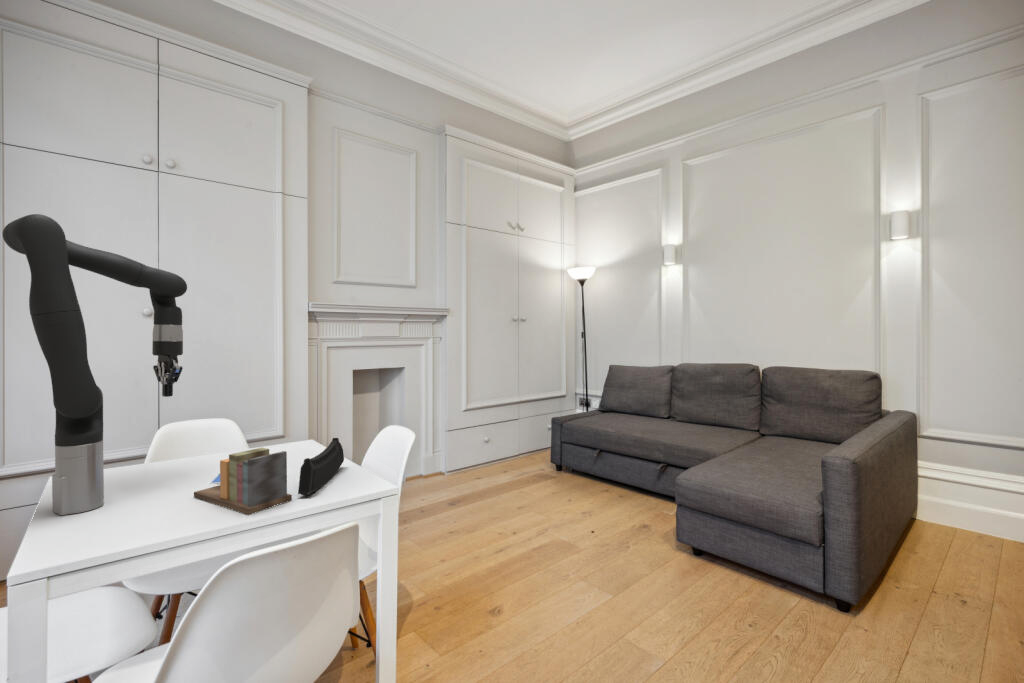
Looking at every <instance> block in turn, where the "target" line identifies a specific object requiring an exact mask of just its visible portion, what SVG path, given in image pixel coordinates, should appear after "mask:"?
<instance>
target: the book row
mask: <svg viewBox="0 0 1024 683" xmlns="http://www.w3.org/2000/svg"><path fill="white" fill-rule="evenodd" d="M287 454H288V453H287V451H285V450H284V451H278V452H274V453H270V449H269V448H266V447H265V448H264V447H258V448H253V449H249V450H246V451H245V450H243V451H240V452H237V453H236V452H234V453H230V454H228V459H229V499H227V500H226V499H223V498H220V484H218V485H214V486H212V487H208V488H204V489H200V490H196V491H194V492H193V498H195V499H197V498H198V499H197V500H200V501H203V500H204V502H206V501H207V503H209V502H210V504H212V503H214V504H213V505H216V504H217V505H216V506H219V505H220V506H219V507H222V506H224V507H223V508H225V507H227V508H226V509H228V508H230V509H229V510H231V509H233V510H232V511H234V510H236V511H235V512H237V511H239V512H238V513H240V512H242V513H241V514H243V513H245V514H244V515H246V514H248V515H247V516H249V514H250V515H252V513H253V514H256V513H259V512H261V511H260V510H262V511H264V510H263V509H265V510H267V509H266V508H268V509H270V508H269V507H271V508H273V507H272V506H274V505H277V504H280V503H282V504H285V503H288V502H290V501H292V499H293V498H292V496H293V495H292V494H290V493H288V474H287V473H288V470H287V468H288V465H287V464H288V463H287V461H288V458H287V457H288V455H287ZM287 501H288V502H287ZM284 502H285V503H284ZM280 505H281V504H280ZM277 506H278V505H277ZM274 507H275V506H274ZM258 511H259V512H258ZM255 512H256V513H255Z"/></svg>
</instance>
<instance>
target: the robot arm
mask: <svg viewBox="0 0 1024 683" xmlns="http://www.w3.org/2000/svg"><path fill="white" fill-rule="evenodd" d="M2 238H3V241H4V242H5V244H6V245H7V246H8V247H9V248H10V249H11V250H13V251H15V252H16V253H19V254H22V255H25V256H26V260H27V262H28V266H29V270H30V288H29V296H28V297H29V298H28V302H29V303H28V307H29V308H28V310H29V314H30V318H31V322H32V326H33V328H34V332H35V335H36V337H37V338H36V339H37V341H38V344H39V346H40V349H41V351H42V354H43V356H44V358H45V361H46V364H47V366H48V369H49V374H50V380H51V388H52V404H53V406H54V409H55V431H54V432H55V433H54V466H55V467H54V472H55V473H53V474H52V476H51V484H52V485H51V489H52V490H51V492H52V494H51V496H52V497H51V498H52V499H51V500H52V505H51V507H52V512H53V511H54V512H53V513H55V512H56V513H55V514H57V513H58V514H57V515H59V516H61V515H62V516H66V515H73V514H79V513H83V512H84V513H85V512H88V511H92V510H95V509H98V508H100V507H101V506H103V505H104V503H105V502H104V501H105V494H104V493H105V492H104V491H105V490H104V489H105V486H104V480H105V478H104V395H103V392H102V389H101V388H100V387H99V386H98V385H97V383H96V381H95V379H94V375H93V373H92V370H91V367H90V364H89V360H88V344H87V343H88V342H87V333H86V327H85V322H84V318H83V315H82V314H83V312H82V310H81V306H80V304H79V300H78V296H77V293H76V288H75V285H74V284H75V283H74V282H73V278H72V275H71V270H70V266H71V267H75V268H79V269H82V270H84V271H85V270H86V271H89V272H92V273H95V274H97V275H100V276H104V277H107V278H109V279H112V280H115V281H117V282H120V283H123V284H126V285H129V286H132V287H135V288H144V289H148V291H149V296H150V301H151V302H150V303H151V305H152V308H153V328H152V348H151V349H152V352H151V353H152V356H158V357H157V364H156V365H153V366H152V369H153V371H154V374H155V377H156V378H157V382H158V383H160V384H161V385H162V386H161V387H162V392H161V396H162V397H166V398H169V397H172V396H173V395H174V394H173V393H174V390H173V389H174V384H175V383H177V382H178V381H179V379H180V376H181V374H182V371H183V369H184V368H183V366H182V365H181V366H180V365H179V360H178V356H182V355H184V354H183V353H184V330H183V310H182V308H181V307H180V306H177V301H176V298H178V297H181V296H183V295H185V294H186V292H187V291H188V284H187V281H185V279H184V278H183V277H181V276H180V275H178V274H176V273H173V272H172V271H171V272H170V271H167V270H163V269H159V268H156V267H152V266H149V265H146V264H144V263H141V262H140V261H139V262H138V261H137V260H134V259H131V258H129V257H126V256H123V255H120V254H118V253H117V254H116V253H114V252H110V251H106V250H101V249H97V248H93V247H89V246H84V245H82V244H80V243H79V244H78V243H75V242H74V241H71V240H68V239H67V238H66V234H65V232H64V229H63V228H62V226H61V225H60V224H59V223H58V222H57V221H56V219H53V218H52V217H50V216H47V215H46V214H45V215H44V214H41V213H40V214H39V213H35V214H33V213H32V214H27V215H24V216H22V217H19V218H17V219H14V220H12V221H11V222H9V223H8V224H7V225H5V227H4V228H3V230H2Z"/></svg>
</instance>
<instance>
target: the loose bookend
mask: <svg viewBox="0 0 1024 683" xmlns="http://www.w3.org/2000/svg"><path fill="white" fill-rule="evenodd" d="M219 474H220V484H219V485H220V498H223V499H226V500H227V499H229V458H226V459H220V460H219Z"/></svg>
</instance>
